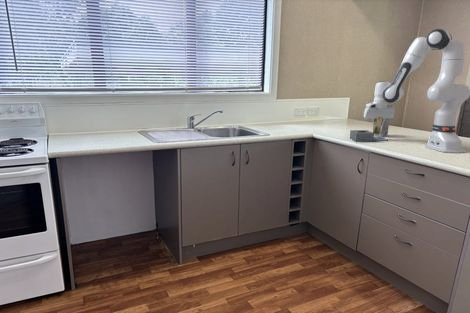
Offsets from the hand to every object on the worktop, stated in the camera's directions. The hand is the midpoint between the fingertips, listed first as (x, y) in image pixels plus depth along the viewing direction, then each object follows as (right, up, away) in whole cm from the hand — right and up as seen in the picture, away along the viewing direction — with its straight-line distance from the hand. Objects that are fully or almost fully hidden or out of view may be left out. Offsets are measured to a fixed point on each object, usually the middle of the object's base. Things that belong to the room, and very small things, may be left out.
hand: (377, 124), depth 236 cm
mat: (0, -10, +2) cm, 10 cm away
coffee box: (+8, -7, +15) cm, 18 cm away
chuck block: (-12, -11, -1) cm, 16 cm away
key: (0, -6, +2) cm, 6 cm away
